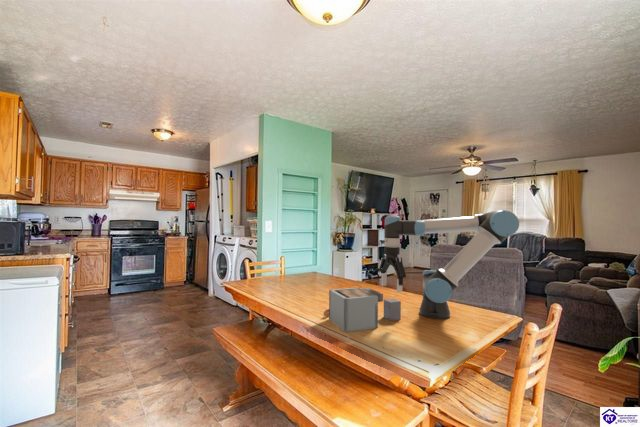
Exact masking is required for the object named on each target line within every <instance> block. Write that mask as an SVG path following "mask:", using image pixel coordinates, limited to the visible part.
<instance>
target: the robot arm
mask: <svg viewBox="0 0 640 427" xmlns="http://www.w3.org/2000/svg"><path fill="white" fill-rule="evenodd" d="M519 227H520V219H519V218H518V216H517V215H516V213H514V212H512V211H510V210H507V209H498V210H493V211H490V212H489V211H488V212H485V213H478V214H474V215H473V216H460V217H446V218H443V217H442V218H429V219H428V218H427V219H418V220H417V219H416V220H415V219H414V220H413V219H412V220H407V219H406V220H403V219H401V217H400V216H399V215H396V216H395V215H390V216H389V215H387V216H386V217H384V248H383V251H384V254H382V256H381V262H380V265H379V267H378V271H379V272H380V274H381V279H380V280H381V281H380V282H381V283H380V284H381V287H386V286H387V284H388V283H387V282H388V281H387V280H388V279H387V278H388V277H387V276H388V273H387V271H388V269H389V267H390V266H392V267H393V270H394V272H395V274H396V276H397V277H396V292H397V293H401V292H402V293H403V285H404V283H403V282H404V278H405V279H406V277H407V273H406V271H405V266H404V263H403V257H399V255H400V250H401V249H400V246H401V244H400V243H401V239H400V236H417V237H419V236H420V237H421V236H424V235H425V234H446V233H467V232H469V233H470V232H474V233H476V234H475V235H474V236H473V237H472V238H471V239H470V240H469V241H468V242H467V244H465V246H463V248H462V249H461V250H459V252H458V253H456V255H455V256H454V257H453V258H452V259H450V261H449V262H448V263H447V264H446V265H445V266H444V267H443V268H437V270H433V269H432V270H431V269H429V270H428V269H425V270H423V271H422V300H421V304H420V307H419V310H418V311H419V314H420V315H421V316H423V317H426V318H430V319H442V320H443V319H447V318H450V317H451V310H450V308H449V307H450V306H449V304H448V301H449V300H450V299H451V297H452V293H453V292H454V291H455V290H456V289H457V288H458V287H459V281H460V280H461V279H463V277H464V276H465V275H466V274H467V273H468V272H469V271H470V270H471V269H472V268H473V267H474V266H475V265H476V264H477V263H479V261H480V260H481V259H482V258H483V257H484V256H485V255H486V254H487V253H488V252H489V251H490V250H491V248H493V247H494V246H495V245H501V244H502V242H504V241H505V240H506V239H507V238H508V237H511V236H513V235H514V234H515V233H517V231H518V230H519Z"/></svg>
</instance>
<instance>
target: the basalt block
mask: <svg viewBox="0 0 640 427" xmlns="http://www.w3.org/2000/svg"><path fill="white" fill-rule="evenodd" d="M401 305H402V302H401V300H399V299H396V298H387V299H386V298H385V299H384V298H383V318H384V319H386V320H387V321H390V322H393V321H399V320H401V319H402V318H401V317H402V316H401V312H402V311H401V310H402V309H401V308H402V307H401Z"/></svg>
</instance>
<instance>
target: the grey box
mask: <svg viewBox="0 0 640 427" xmlns="http://www.w3.org/2000/svg"><path fill="white" fill-rule="evenodd" d="M350 289H361V288H360V287H347V288H337V289H336V288H335V289H333V288H332V289H329V291H328V292H329V294H328V295H329V296H328V297H329V298H328V300H329V301H328V308H329V309H328V312H329V313H328V315H329V316H328V320H330V321H331V322H332V323H333V324H334V325H335V326H337V327H338V328H339V329H341V330H342V331H343V332H344V333H348V332H357V331H365V330H372V329H377V328H379V323H378V322H379V316H378V315H379V302H378V296H377V295H373V296H362V297H351V298H347V297H346V296H344V295H342V294H340V293H338V290H350Z"/></svg>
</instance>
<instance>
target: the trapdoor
mask: <svg viewBox="0 0 640 427" xmlns="http://www.w3.org/2000/svg"><path fill="white" fill-rule="evenodd" d="M338 293H340V294H342V295H344V296H346V297H347V298H351V297H362V296H373V295H377V296H378V303H379V302H383V303H384V293H381V292H379V291H377V290H375V289H372V288H369V287H366V288H360V289H350V290H338Z"/></svg>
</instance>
